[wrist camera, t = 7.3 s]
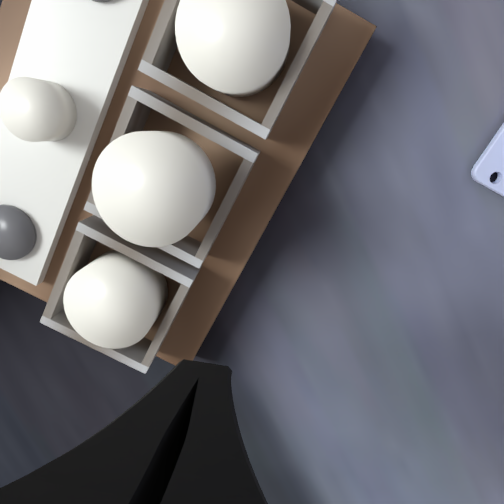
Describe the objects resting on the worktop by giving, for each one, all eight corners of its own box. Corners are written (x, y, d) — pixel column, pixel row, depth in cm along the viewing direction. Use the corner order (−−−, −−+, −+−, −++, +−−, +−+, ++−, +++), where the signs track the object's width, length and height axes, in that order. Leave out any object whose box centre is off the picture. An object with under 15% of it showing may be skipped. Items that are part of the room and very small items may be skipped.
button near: (308, 17, 15) (312, -1, 13) (260, 114, 17) (256, 113, 14) (216, -36, 15) (205, -63, 13) (173, 67, 16) (157, 57, 14)
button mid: (233, 161, 15) (225, 166, 13) (190, 248, 17) (176, 266, 15) (139, 111, 15) (116, 108, 13) (102, 203, 16) (75, 214, 14)
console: (369, 35, 17) (389, 12, 14) (193, 355, 22) (177, 395, 19) (68, -140, 16) (12, -210, 13) (-42, 239, 21) (-102, 259, 18)
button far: (181, 273, 19) (168, 291, 17) (148, 338, 20) (132, 363, 18) (104, 233, 19) (81, 247, 17) (75, 302, 20) (50, 323, 18)
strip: (171, -59, 15) (154, -87, 13) (43, 281, 20) (16, 298, 18) (75, -114, 15) (44, -151, 13) (-32, 244, 20) (-67, 257, 18)
